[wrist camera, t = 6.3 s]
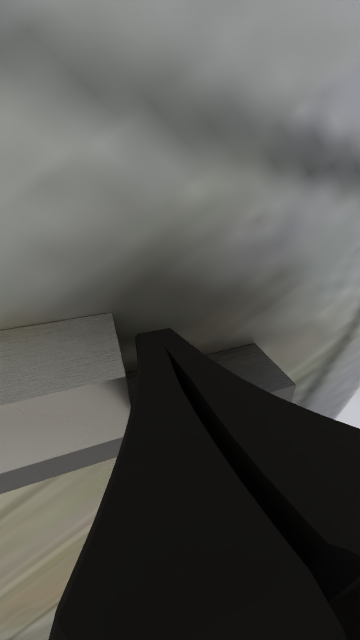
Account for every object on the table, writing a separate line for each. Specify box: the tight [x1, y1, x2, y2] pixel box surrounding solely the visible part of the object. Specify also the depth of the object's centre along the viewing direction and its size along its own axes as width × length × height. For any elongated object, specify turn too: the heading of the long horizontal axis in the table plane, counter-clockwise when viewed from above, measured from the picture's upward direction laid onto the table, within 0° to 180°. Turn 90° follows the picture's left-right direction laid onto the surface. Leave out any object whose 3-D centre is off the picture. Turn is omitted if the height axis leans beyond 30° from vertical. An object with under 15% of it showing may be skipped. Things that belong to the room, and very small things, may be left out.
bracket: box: [0, 344, 296, 494], centre depth 8 cm, size 18×4×5 cm, turn 90°
